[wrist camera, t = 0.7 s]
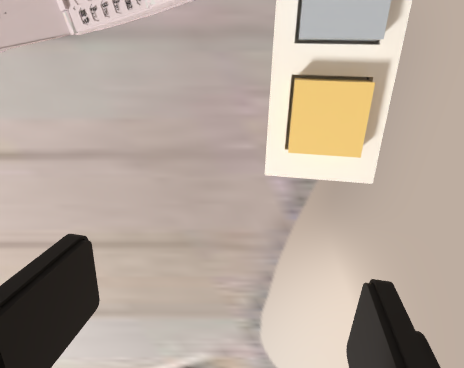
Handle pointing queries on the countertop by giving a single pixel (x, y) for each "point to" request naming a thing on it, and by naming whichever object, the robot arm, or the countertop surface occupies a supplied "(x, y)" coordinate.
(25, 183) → the countertop surface
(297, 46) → the keypad
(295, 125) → the key ochre
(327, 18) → the key slate
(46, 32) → the mobile phone
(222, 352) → the countertop surface
